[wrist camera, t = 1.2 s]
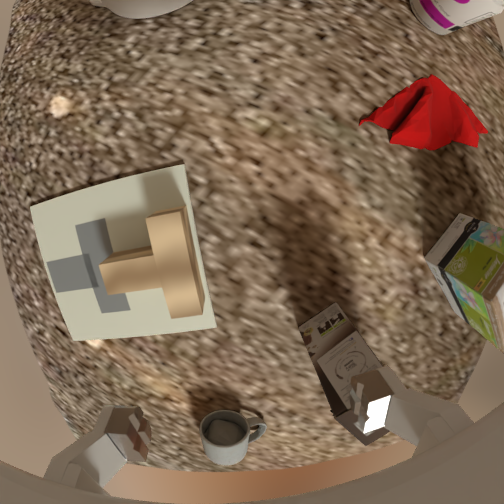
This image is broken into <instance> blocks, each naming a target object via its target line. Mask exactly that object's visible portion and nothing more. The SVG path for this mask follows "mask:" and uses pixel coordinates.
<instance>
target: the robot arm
mask: <svg viewBox="0 0 504 504" xmlns="http://www.w3.org/2000/svg"><path fill="white" fill-rule="evenodd" d="M89 1H90V3H91V4H92V5H94V6H101V7H106V8H108V9H110V10H111V11H112V12H113V13H115V14H117V15H119V16H122V17H126V18H134V19H140V18H150V17H155V16H159V15H163V14H166V13H169V12H172V11H174V10H177V9H179V8H181V7H183V6H185V5H186V4H188V3H190V2H191V1H193V0H89ZM350 384H351V386H352V388H353V389H352V390H351V391H350V397H349V399H350V405H351V408H352V410H353V412H354V414H356V415H358V416H359V417H358V422H359V424H360V426H361V428H362V430H363V432H364V433H365V432H369V431H372V430H375V429H378V428H381V427H384V428H386V429H387V430H389V431H391V432H393V433H394V434H396V435H398V436H400V437H401V438H403V439H405V440H407V441H408V442H410V443H412V444H414V445H416V446H417V448H416V450H415V452H414V454H413V456H412V458H410V459H408V460H406V461H403V462H401V463H399V464H397V465H394V466H392V467H389V468H387V469H384V470H381V471H379V472H376V473H373V474H371V475H368V476H365V477H362V478H359V479H356V480H353V481H349V482H346V483H343V484H339V485H336V486H332V487H329V488H325V489H321V490H316V491H312V492H308V493H303V494H298V495H293V496H288V497H282V498H275V499H269V500H260V501H251V502H241V503H227V504H504V402H503V403H502V404H501V405H499V406H498V407H497V408H495V409H494V410H492V411H491V412H490V413H488V414H487V415H486V416H484V417H483V418H481V419H480V420H478V421H477V422H475V423H474V422H473V421H472V420H471V419H470V417H469V416H468V415H467V414H466V413H465V412H464V410H463V409H462V408H461V407H460V406H459V405H458V404H456V403H452V402H449V401H446V400H443V399H440V398H437V397H434V396H431V395H428V394H425V393H422V392H420V391H417V390H414V389H411V388H410V389H407V388H406V387H405V386H404V385H403V383H402V382H401V381H400V379H399V378H398V377H397V376H396V374H395V373H394V372H393V370H392V369H391V368H390V367H389V366H384V367H381V368H378V369H375V370H372V371H369V372H365V373H362V374H359V375H355V376H352V378H351V383H350ZM142 416H143V411H142V410H141V408H140V407H137V406H112V405H105V406H104V407H103V409H102V411H101V413H100V415H99V418H98V420H97V422H96V424H95V427H94V429H93V431H92V432H88V433H87V434H85V435H84V436H83V437H81V438H80V439H78V440H77V441H76V442H74V443H73V444H71V445H70V446H69V447H67V448H66V449H64V450H63V451H61V452H60V453H58V454H57V455H56V456H54V457H53V458H52V460H51V462H50V464H49V466H48V468H47V471H46V473H45V475H44V477H43V478H41V477H39V476H36V475H33V474H30V473H28V472H26V471H23V470H21V469H18V468H16V467H14V466H11V465H9V464H7V463H5V462H3V461H1V460H0V504H172V503H158V502H147V501H139V500H131V499H124V498H118V497H112V496H110V495H109V494H108V493H107V492H106V491H105V490H104V489H103V487H104V486H105V485H106V484H107V483H108V481H110V480H111V479H112V477H113V476H114V475H115V474H116V473H117V472H118V471H119V470H120V469H121V468H122V467H123V465H125V464H126V462H127V461H141V462H146V459H147V454H148V450H149V449H148V448H147V446H146V445H147V444H148V443H149V442H150V441H151V436H152V435H151V427H150V424H149V422H148V420H146V419H145V418H143V417H142Z"/></svg>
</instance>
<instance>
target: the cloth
mask: <svg viewBox="0 0 504 504" xmlns="http://www.w3.org/2000/svg"><path fill="white" fill-rule="evenodd" d="M364 121H370V122H373V123H375V124H377V125H379V126H380V127H382V128H386V129H389V130H393V131H394V132H393V133H392V138H391V140H390V143H392V144H401V145H405V146H410V147H414V148H418V149H423V148H426V149H428V150H436V149H438V148H440V147H443V146H445V145H447V144H449V143H451V140H452V141H454V142H459V143H463V144H466V145H469V146H473V147H477V146H478V140H479V135H478V133H488V131H487V130H486V128H485V127H484V126H483V124H482V123H481V122H480V121H479V120H478V118H477V117H476V116H475V115H474V113H473V112H472V110H471V109H470V108H469V107H468V106H467V105H466V104H465V103H464V102H463V101H462V100H461V98H460V97H459V96H458V95H457V94H456V93H455V92H454V91H451V90H450V89H449V88H448V87H447V86H446V85H445V84H444V83H443V82H442V81H441V80H440V79H439V78H437V77H436V76H434V75H430V76H429V78H422V79H419V80H417V81H415V82H414V83H413V84H411V85H410V88H408V87H406V88H404V89H403V90H402V91H401V92H399V93H398V94H396V95H395V97H393V98H392V99H390V100H388V101H387V102H386V103H385V105H384V106H383V107H379V108H378V109H377V110H375V111H374V112H373V113H372V114H371V115H370V117H369V118H365V119H363V120H361V122H360V123H359V126H360V125H361V124H362V123H363V122H364ZM477 132H478V133H477Z"/></svg>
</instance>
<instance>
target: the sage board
mask: <svg viewBox="0 0 504 504" xmlns="http://www.w3.org/2000/svg"><path fill="white" fill-rule="evenodd" d="M185 205H187V211H188V216H189V221H190V227H191V232H192V237H193V242H194V247H195V251H196V256H197V261H198V266H199V270H200V275H201V280H202V284H203V288H204V293H205V302H204V309H203V315H198V316H190V317H183V318H175V319H171V317H170V313H169V310H168V306H167V303H166V300H165V296H164V292H163V289H162V288H155V289H148V290H141V291H134V292H127V293H120V294H112V295H108V294H107V291H106V287H105V284H104V281H103V278H102V275H101V271H100V268H99V264H100V263H101V262H103V261H104V260H105V259H106V258H107V257H109V256H110V255H111V254H112V253H113V252H119V251H124V250H129V249H135V248H140V247H146V246H151V241H150V237H149V233H148V228H147V224H146V219H145V218H147V217H148V216H150V215H151V214H153V213H154V212H156V211H159V210H164V209H170V208H175V207H180V206H185ZM30 209H31V214H32V219H33V223H34V228H35V232H36V236H37V240H38V244H39V247H40V251H41V255H42V258H43V261H44V265H45V268H46V271H47V274H48V277H49V280H50V283H51V286H52V289H53V292H54V294H55V297H56V300H57V303H58V305H59V308H60V310H61V313H62V315H63V318H64V320H65V322H66V325H67V327H68V329H69V332H70V334H71V336H72V338H73V341H78V340H97V339H113V338H126V337H138V336H149V335H159V334H168V333H177V332H185V331H193V330H201V329H209V328H216V327H217V324H216V320H215V315H214V311H213V307H212V302H211V298H210V294H209V289H208V284H207V280H206V275H205V270H204V266H203V261H202V256H201V251H200V246H199V241H198V236H197V231H196V226H195V220H194V215H193V209H192V204H191V198H190V193H189V187H188V181H187V175H186V169H185V164H182V165H177V166H172V167H168V168H163V169H158V170H154V171H149V172H145V173H141V174H137V175H133V176H129V177H125V178H121V179H117V180H113V181H110V182H106V183H102V184H99V185H95V186H92V187H88V188H85V189H82V190H79V191H75V192H72V193H69V194H66V195H63V196H60V197H57V198H54V199H51V200H48V201H45V202H42V203H39V204H36V205H34V206H31V207H30Z"/></svg>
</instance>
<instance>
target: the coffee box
mask: <svg viewBox="0 0 504 504" xmlns="http://www.w3.org/2000/svg"><path fill="white" fill-rule="evenodd" d="M299 331H300V333H301V336H302V338H303V341H304V343H305V345H306V348H307V350H308V353H309V355H310V357H311V360H312V362H313V365H314V367H315V370H316V372H317V375H318V377H319V380H320V382H321V385H322V387H323V389H324V392H325V394H326V397H327V399H328V402H329V404H330V407H331V409H332V412H333V414H334V418H335V419H336V420H337V421H338V422H339V423H340V424H341V425H342V426H343V427H345V428H346V429H347V430H348V431H349V432H350V433H351V434H353V435H354V436H355V437H356V438H357V439H358V440H359V441H361V442H362V443H363V444H364V445H365V446H367V445H369V444H370V443H372V442H374V441H375V440H377V439H379V438H380V437H382V436H383V435H385V434H387V433H388V432H389V430H387V429H386V428H384V427H381V428H378V429H375V430H372V431H369V432H365V433H364V432H363V430H362V428H361V426H360V424H359V422H358V417H359V416H358V415H356V414H354V412H353V410H352V408H351V405H350V399H349V397H350V391H351V390H352V389H353V388H352V386H351V384H350V383H351V378H352V376H355V375H359V374H362V373H365V372H369V371H372V370H375V369H378V368H381V367H383V366H382V364H381V363H380V362H379V360H378V358H377V357H376V356H375V354H374V353H373V352H372V350H371V349H370V347H369V346H368V345H367V343H366V342H365V341H364V339H363V338H362V336H361V335H360V334H359V332H358V331H357V330H356V328H355V327H354V325H353V324H352V323H351V321H350V320H349V319H348V317H347V316H346V315H345V313H344V312H343V311H342V309H341V308H340V306H339V305H338V304H337V303H336V302H335V303H333V304H332V305H331V306H329V307H328V308H326V309H325V310H323V311H322V312H320V313H319V314H317V315H316V316H314V317H313V318H311V319H310V320H308V321H307V322H305V323H304V324H302V325H301V326H300V327H299Z"/></svg>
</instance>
